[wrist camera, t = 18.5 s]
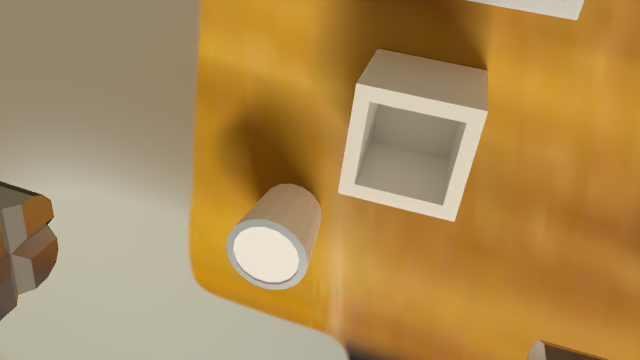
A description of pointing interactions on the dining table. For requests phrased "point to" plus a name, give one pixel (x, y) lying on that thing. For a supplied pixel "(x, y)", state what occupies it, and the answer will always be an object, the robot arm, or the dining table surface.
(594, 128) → the dining table surface
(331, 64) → the dining table surface
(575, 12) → the tray
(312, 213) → the tan cylinder
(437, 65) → the deep box
